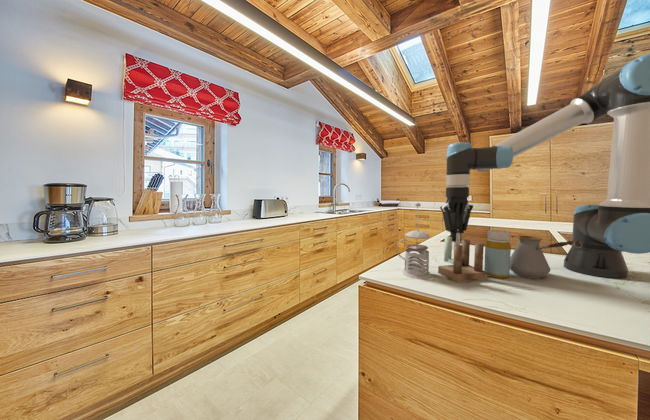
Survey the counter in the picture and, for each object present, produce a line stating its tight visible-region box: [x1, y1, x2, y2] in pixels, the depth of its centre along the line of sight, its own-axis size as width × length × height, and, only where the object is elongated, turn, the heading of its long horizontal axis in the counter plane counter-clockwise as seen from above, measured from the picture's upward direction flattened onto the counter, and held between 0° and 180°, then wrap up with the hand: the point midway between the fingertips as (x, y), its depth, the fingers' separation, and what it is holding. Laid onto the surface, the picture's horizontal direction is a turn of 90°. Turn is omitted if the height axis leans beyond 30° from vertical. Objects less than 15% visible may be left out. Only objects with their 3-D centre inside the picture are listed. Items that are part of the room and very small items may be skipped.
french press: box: [396, 202, 432, 280], centre depth 85 cm, size 10×12×25 cm
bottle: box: [483, 229, 512, 279], centre depth 82 cm, size 7×7×15 cm
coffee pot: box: [510, 235, 582, 279], centre depth 78 cm, size 21×12×15 cm, turn 3°
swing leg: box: [443, 236, 454, 265], centre depth 88 cm, size 7×2×9 cm, turn 14°
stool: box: [437, 239, 487, 283], centre depth 82 cm, size 11×9×12 cm
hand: (455, 249), depth 91 cm, fingers closed
